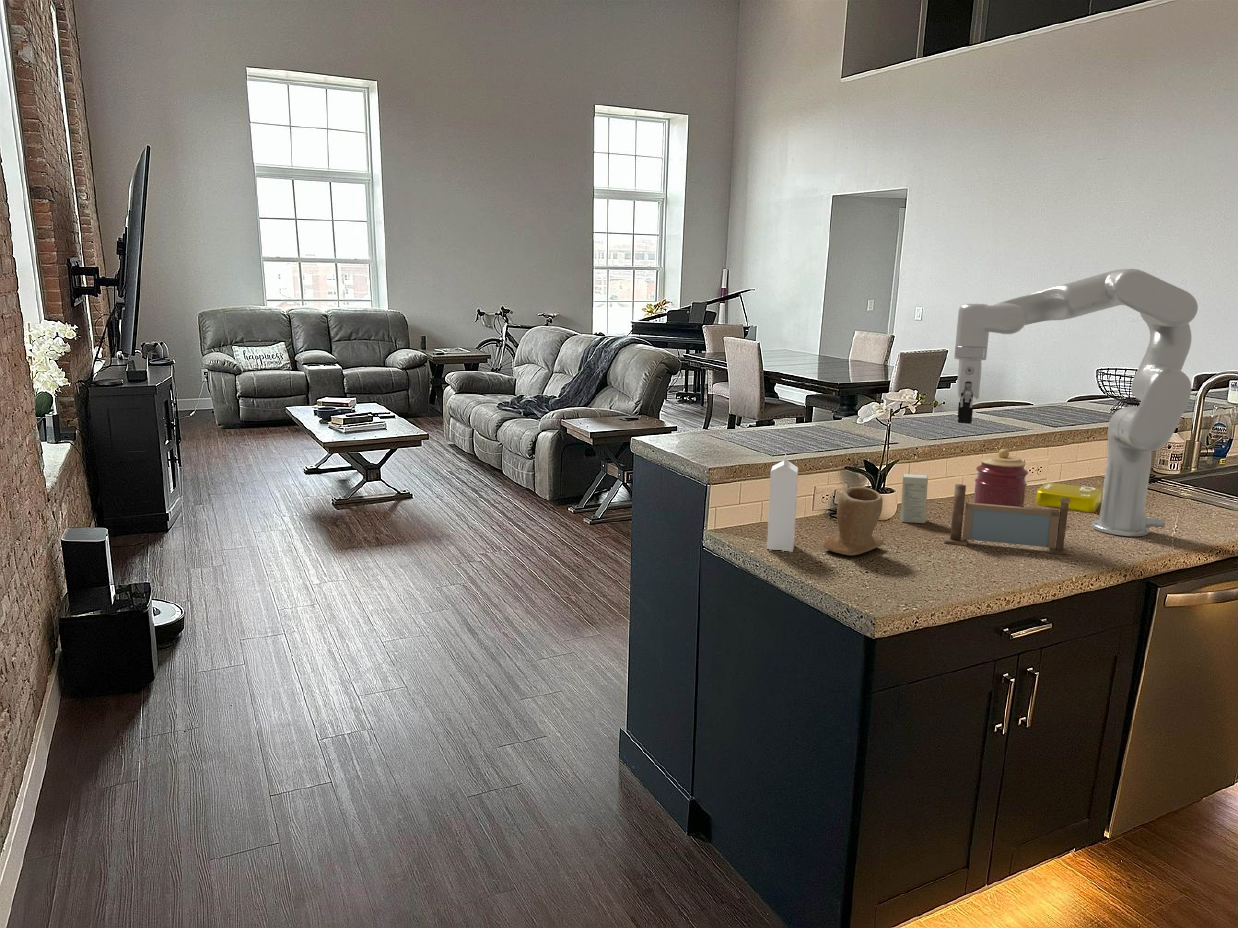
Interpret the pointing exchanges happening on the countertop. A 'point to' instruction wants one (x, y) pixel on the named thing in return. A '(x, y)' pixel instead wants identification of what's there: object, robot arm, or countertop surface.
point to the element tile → (1069, 496)
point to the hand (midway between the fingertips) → (964, 420)
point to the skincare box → (914, 498)
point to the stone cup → (856, 522)
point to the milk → (782, 506)
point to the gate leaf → (1011, 524)
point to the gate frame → (958, 519)
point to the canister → (1001, 480)
